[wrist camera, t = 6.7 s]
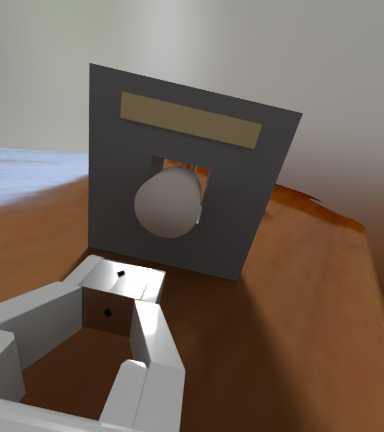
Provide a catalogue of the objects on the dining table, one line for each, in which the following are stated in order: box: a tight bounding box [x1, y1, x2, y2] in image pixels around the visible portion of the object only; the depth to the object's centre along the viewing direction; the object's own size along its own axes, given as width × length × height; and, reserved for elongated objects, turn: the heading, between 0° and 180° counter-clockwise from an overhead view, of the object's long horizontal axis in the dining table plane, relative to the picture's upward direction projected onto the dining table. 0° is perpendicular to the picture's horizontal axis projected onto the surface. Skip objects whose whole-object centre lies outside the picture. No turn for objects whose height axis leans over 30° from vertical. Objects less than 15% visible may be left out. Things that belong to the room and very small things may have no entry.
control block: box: [88, 63, 302, 281], centre depth 22 cm, size 6×18×18 cm, turn 85°
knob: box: [134, 166, 202, 238], centre depth 20 cm, size 11×5×5 cm, turn 175°
